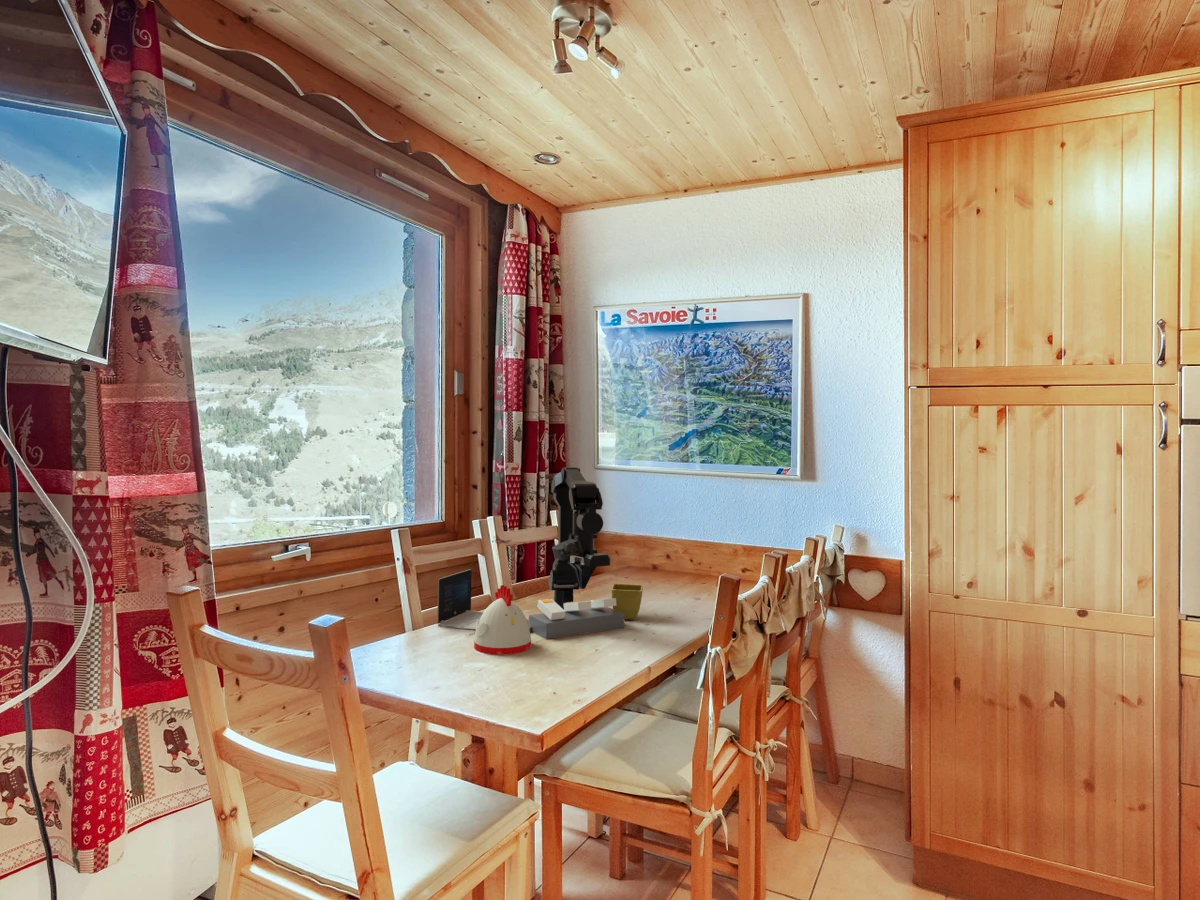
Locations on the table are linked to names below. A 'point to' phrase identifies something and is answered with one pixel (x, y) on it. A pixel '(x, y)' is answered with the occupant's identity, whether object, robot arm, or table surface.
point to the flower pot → (627, 599)
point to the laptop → (456, 602)
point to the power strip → (577, 622)
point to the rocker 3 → (603, 602)
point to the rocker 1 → (551, 609)
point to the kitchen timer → (502, 627)
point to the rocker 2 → (577, 605)
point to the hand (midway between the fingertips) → (582, 588)
